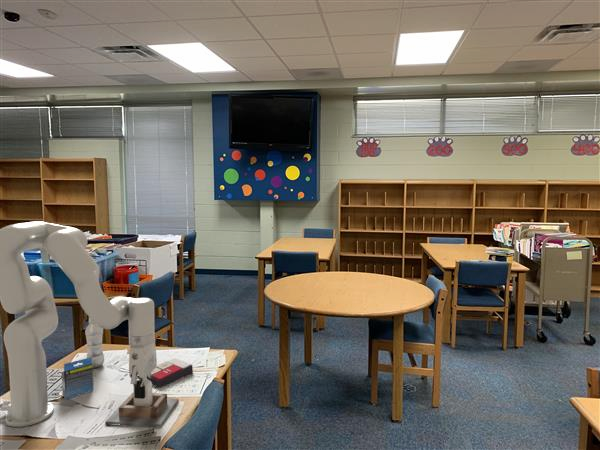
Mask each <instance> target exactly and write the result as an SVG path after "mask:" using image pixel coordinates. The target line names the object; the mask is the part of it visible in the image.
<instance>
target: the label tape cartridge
mask: <svg viewBox="0 0 600 450" xmlns="http://www.w3.org/2000/svg"><path fill="white" fill-rule="evenodd" d="M74 365H75V366H74ZM61 387H62V388H61V389H62V390H61V391H62V392H61V394H62V397H63V398H64V399H65V400H67V399H70V397H71V398H73V397H72V396H74V397H76V396H75V395H77V396H79V395H78V394H80V395H84V394H86V392H87V393H90V392H93V391H94V372H93V368H92V357H90V358H87V357H86V358H83V359H78V360H75V361H70V362H68V363H63V371H62V372H61ZM92 390H93V391H92Z"/></svg>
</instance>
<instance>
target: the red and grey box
mask: <svg viewBox="0 0 600 450" xmlns="http://www.w3.org/2000/svg"><path fill="white" fill-rule="evenodd" d="M193 371H194V370H193V364H191V363H190V362H189V363H188V362H186V361H184V360H181V359H179V358H176V357H173V358H171V359H168V360H167V361H164V362H161V363H159V364H157V365H156V368H155V369H154V370H153V371H152V372H151V382H152V386H154V387H156V388H159V389H161V388H163V387H166V386H168V385H170V384H173V383H174V382H176V381H178V380H180V379H182V378H186V377H189V376H190V375H193V374H194V372H193Z"/></svg>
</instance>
